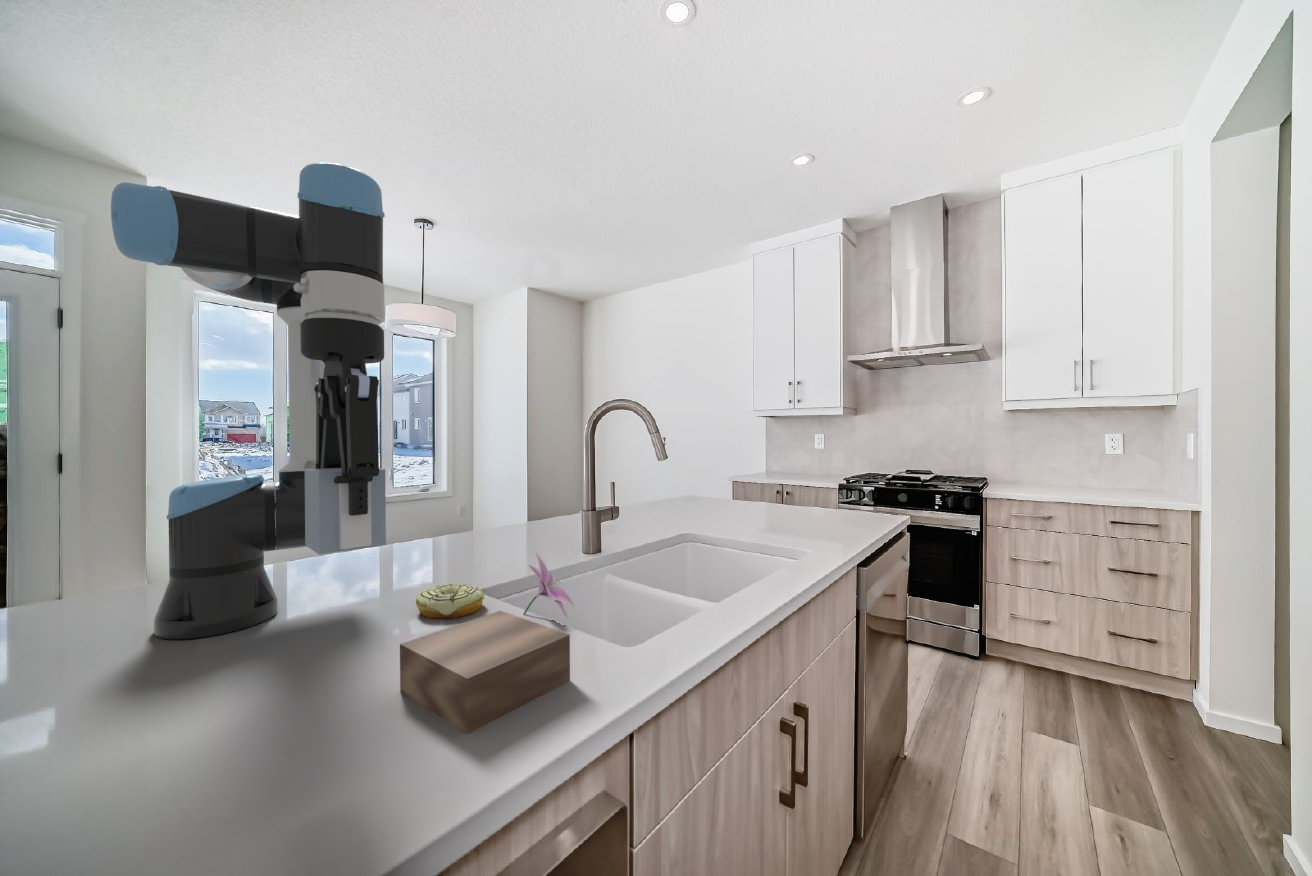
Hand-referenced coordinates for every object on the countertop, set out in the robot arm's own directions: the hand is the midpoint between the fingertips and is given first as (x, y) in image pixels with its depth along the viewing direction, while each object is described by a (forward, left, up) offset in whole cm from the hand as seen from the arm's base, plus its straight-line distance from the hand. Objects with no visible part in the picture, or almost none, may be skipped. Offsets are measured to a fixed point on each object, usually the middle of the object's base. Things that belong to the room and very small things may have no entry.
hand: (346, 541), depth 54 cm
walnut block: (+4, +14, -19) cm, 24 cm away
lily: (-11, +33, -19) cm, 40 cm away
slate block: (0, 0, 0) cm, 0 cm away
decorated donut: (-25, +23, -20) cm, 39 cm away
